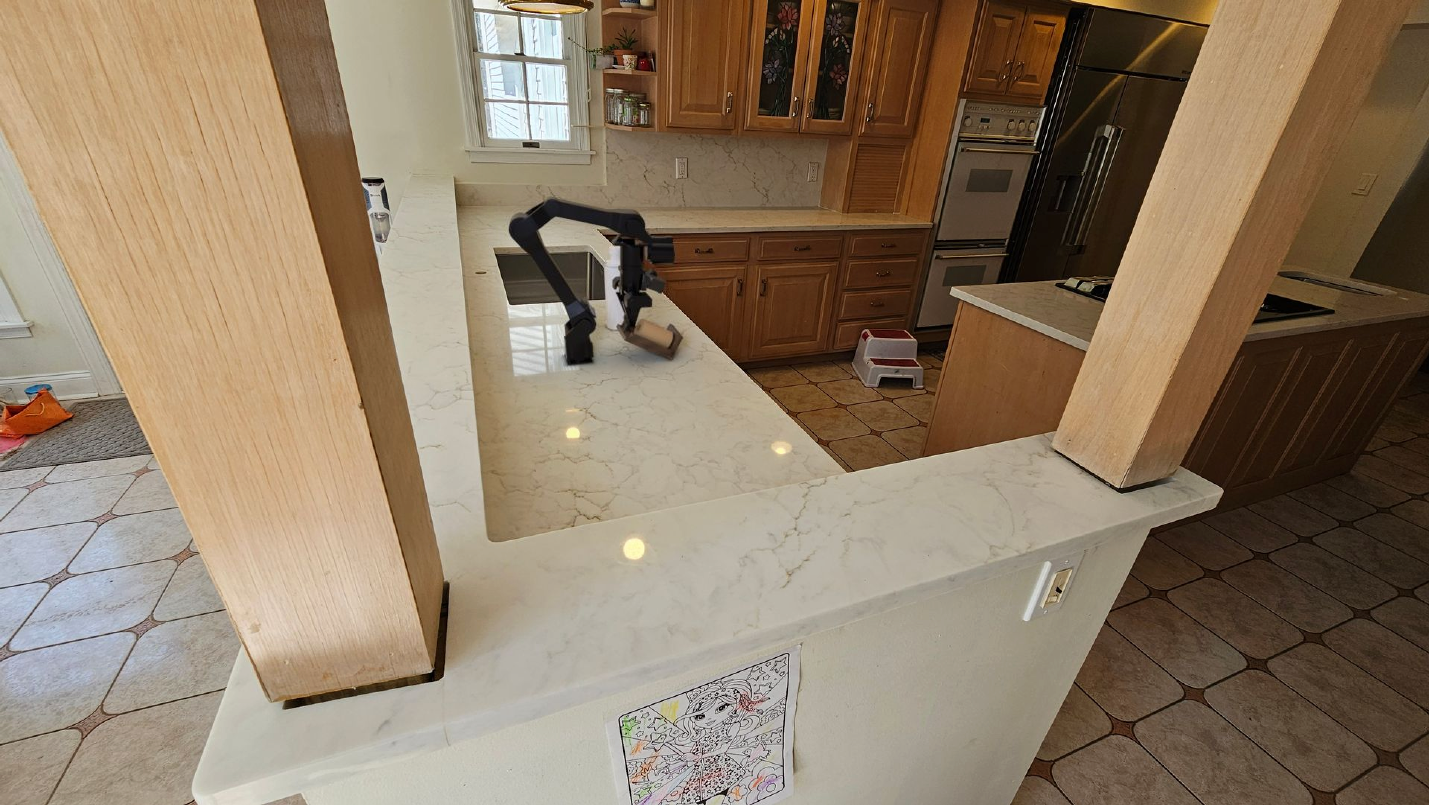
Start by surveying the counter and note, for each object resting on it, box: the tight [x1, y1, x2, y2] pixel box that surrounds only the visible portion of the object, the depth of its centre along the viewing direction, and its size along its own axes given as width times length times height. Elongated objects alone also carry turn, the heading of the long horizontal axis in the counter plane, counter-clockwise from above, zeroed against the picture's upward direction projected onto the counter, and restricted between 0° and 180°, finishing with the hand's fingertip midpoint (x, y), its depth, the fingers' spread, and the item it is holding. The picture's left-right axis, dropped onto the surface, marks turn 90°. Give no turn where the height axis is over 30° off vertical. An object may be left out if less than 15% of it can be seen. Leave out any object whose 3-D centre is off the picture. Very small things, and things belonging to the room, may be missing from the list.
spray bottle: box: [603, 245, 624, 331], centre depth 175 cm, size 7×7×25 cm
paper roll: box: [634, 318, 673, 348], centre depth 160 cm, size 9×5×5 cm, turn 111°
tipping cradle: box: [616, 312, 684, 361], centre depth 159 cm, size 15×10×7 cm, turn 111°
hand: (631, 323), depth 157 cm, fingers closed on tipping cradle, 3 cm apart
